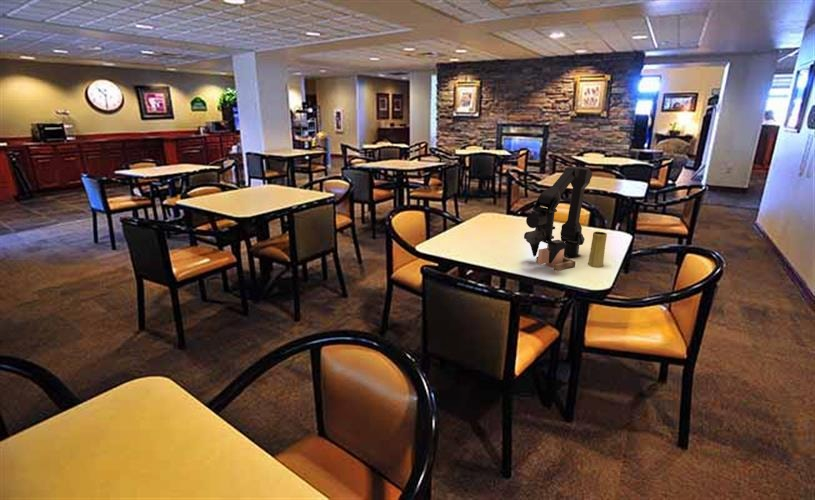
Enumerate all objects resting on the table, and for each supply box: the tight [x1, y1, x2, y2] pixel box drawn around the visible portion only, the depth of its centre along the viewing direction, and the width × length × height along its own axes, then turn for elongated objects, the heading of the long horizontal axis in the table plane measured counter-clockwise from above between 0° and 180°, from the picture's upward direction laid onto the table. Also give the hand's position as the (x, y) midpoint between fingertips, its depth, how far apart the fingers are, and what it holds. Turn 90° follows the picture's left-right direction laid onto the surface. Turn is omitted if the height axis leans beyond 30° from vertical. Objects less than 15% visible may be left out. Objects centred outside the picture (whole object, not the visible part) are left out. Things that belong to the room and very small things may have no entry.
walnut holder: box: [535, 256, 576, 272], centre depth 186 cm, size 10×12×2 cm
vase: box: [587, 231, 608, 268], centre depth 184 cm, size 6×6×14 cm
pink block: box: [536, 243, 565, 269], centre depth 184 cm, size 12×7×9 cm, turn 116°
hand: (542, 259), depth 182 cm, fingers open, 9 cm apart
